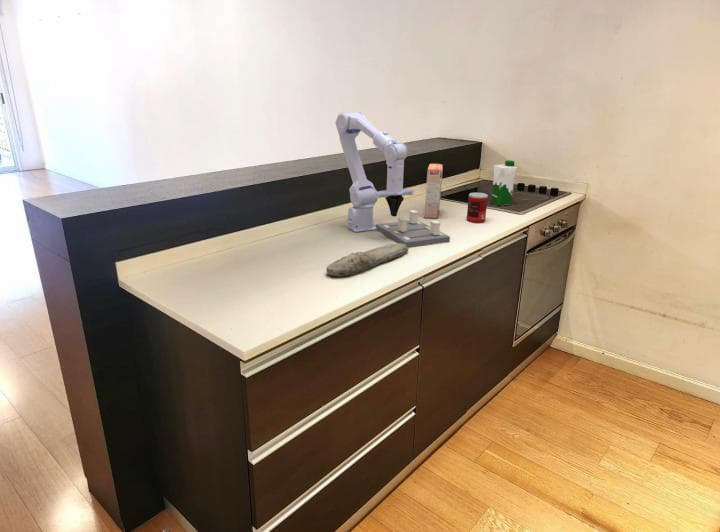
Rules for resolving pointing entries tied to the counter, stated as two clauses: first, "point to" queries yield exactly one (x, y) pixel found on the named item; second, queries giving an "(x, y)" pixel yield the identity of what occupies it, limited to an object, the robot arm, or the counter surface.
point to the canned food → (477, 207)
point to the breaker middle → (402, 224)
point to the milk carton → (503, 183)
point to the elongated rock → (365, 259)
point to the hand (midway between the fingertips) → (393, 215)
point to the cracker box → (433, 190)
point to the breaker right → (435, 227)
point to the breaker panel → (412, 234)
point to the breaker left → (413, 216)
